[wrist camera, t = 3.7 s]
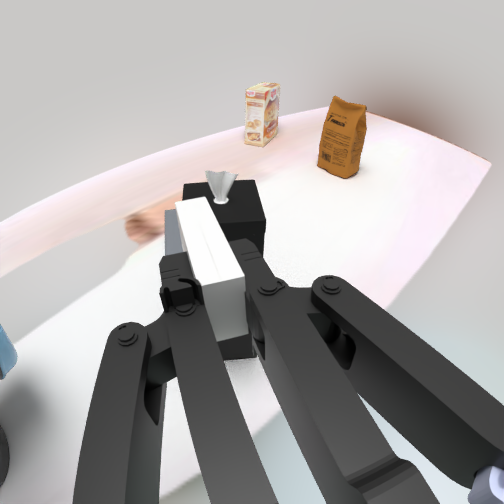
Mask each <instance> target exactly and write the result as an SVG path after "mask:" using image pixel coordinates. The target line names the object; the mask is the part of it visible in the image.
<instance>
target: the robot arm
mask: <svg viewBox="0 0 504 504" xmlns="http://www.w3.org/2000/svg"><path fill="white" fill-rule="evenodd" d="M175 206H176V213H177V219H178V225H179V231H180V236H181V242H182V248H183V252H181V253H176V254H171V255H166V256H163V257H162V259H161V261H160V263H159V268H160V275H161V282H162V286H161V288H160V293H159V294H160V297H161V301H162V305H163V308H164V312H163V314H162V315H161V317H159V318H158V319H157V320H156V321H154V322H153V323H151V324H149V325H147V326H145V327H144V326H143V325H141V324H139V323H135V322H128V323H123V324H121V325H119V326H117V327H116V328H115V329H113V330H112V331H111V333H110V335H109V337H108V339H107V343H106V346H105V350H104V353H103V357H102V360H101V364H100V368H99V372H98V375H97V379H96V383H95V387H94V391H93V395H92V399H91V404H90V408H89V412H88V417H87V421H86V426H85V431H84V436H83V441H82V446H81V451H80V457H79V463H78V468H77V475H76V481H75V488H74V495H73V503H72V504H159V485H160V465H161V448H162V434H163V421H164V409H165V398H166V388H167V382H168V381H170V380H171V379H173V378H175V377H177V378H178V383H179V388H180V392H181V396H182V401H183V405H184V409H185V413H186V417H187V422H188V425H189V429H190V433H191V437H192V441H193V445H194V448H195V452H196V456H197V459H198V463H199V466H200V470H201V473H202V476H203V480H204V483H205V486H206V489H207V493H208V496H209V499H210V502H211V504H279V503H278V501H277V499H276V496H275V494H274V492H273V489H272V487H271V484H270V482H269V480H268V477H267V475H266V472H265V470H264V468H263V466H262V463H261V460H260V458H259V455H258V453H257V450H256V448H255V445H254V443H253V440H252V437H251V435H250V432H249V430H248V427H247V424H246V422H245V419H244V417H243V414H242V411H241V409H240V406H239V403H238V400H237V398H236V395H235V392H234V389H233V387H232V384H231V381H230V378H229V375H228V373H227V370H226V367H225V364H224V361H223V358H222V355H221V352H220V349H219V346H218V343H217V342H218V341H222V340H226V339H230V338H234V337H238V336H242V335H245V334H248V326H249V328H250V330H251V333H252V345H253V356H254V357H256V353H257V355H258V357H259V359H260V362H261V364H262V366H263V368H264V371H265V373H266V375H267V377H268V380H269V382H270V384H271V386H272V389H273V391H274V393H275V395H276V398H277V400H278V402H279V404H280V406H281V409H282V411H283V413H284V415H285V417H286V419H287V422H288V424H289V426H290V428H291V430H292V432H293V435H294V436H295V439H296V441H297V443H298V445H299V447H300V449H301V452H302V454H303V456H304V458H305V460H306V462H307V464H308V466H309V468H310V470H311V472H312V474H313V476H314V479H315V481H316V483H317V485H318V486H319V489H320V491H321V493H322V495H323V497H324V499H325V501H326V504H440V503H439V502H438V500H437V498H436V497H435V495H434V493H433V492H432V491H431V489H430V487H429V485H428V484H427V482H426V481H425V479H424V478H423V476H422V474H421V473H420V471H419V470H418V469H417V467H416V466H415V465H414V464H413V463H411V462H410V461H408V460H404V459H400V458H399V457H398V456H396V454H395V453H394V451H393V450H392V448H391V447H390V445H389V443H388V442H387V440H386V439H385V437H384V435H383V434H382V432H381V431H380V429H379V428H378V426H377V424H376V423H375V421H374V419H373V418H372V416H371V415H370V413H369V411H368V410H367V408H366V407H365V405H364V404H363V402H362V400H361V399H360V397H359V395H360V396H361V397H362V398H364V400H365V401H367V403H368V404H369V405H371V406H372V407H373V408H374V409H375V410H376V411H377V412H378V413H379V414H380V415H381V416H382V417H384V419H385V420H386V421H387V422H388V423H390V424H391V425H392V426H393V427H394V428H395V429H396V430H397V431H398V432H399V433H400V434H401V435H402V436H403V437H404V438H405V439H407V440H408V441H409V442H410V443H411V444H412V445H413V446H414V447H415V448H416V449H417V450H418V451H419V452H420V453H421V454H423V455H424V456H425V457H426V458H427V459H428V460H429V461H430V462H431V463H432V464H433V465H435V466H436V467H437V468H438V469H439V470H440V471H441V472H442V473H444V474H445V475H446V476H447V477H449V478H450V479H451V480H453V481H455V482H456V483H458V484H460V485H461V486H464V487H466V488H469V489H471V491H470V493H469V494H468V502H469V503H470V504H504V406H503V405H502V404H501V403H500V402H499V401H498V400H496V399H495V398H494V397H493V396H491V395H490V394H489V393H488V392H487V391H486V390H484V389H483V388H482V387H481V386H480V385H478V384H477V383H476V382H475V381H473V380H472V379H471V378H470V377H469V376H467V375H466V374H465V373H464V372H462V371H461V370H460V369H459V368H457V367H456V366H455V365H454V364H453V363H451V362H450V361H449V360H448V359H446V358H445V357H444V356H443V355H441V354H440V353H439V352H438V351H436V350H435V349H434V348H432V347H431V346H430V345H429V344H427V343H426V342H425V341H424V340H422V339H421V338H420V337H419V336H417V335H416V334H415V333H413V332H412V331H411V330H410V329H408V328H407V327H406V326H404V325H403V324H402V323H401V322H399V321H398V320H397V319H395V318H394V317H393V316H391V315H390V314H389V313H388V312H386V311H385V310H384V309H382V308H381V307H380V306H378V305H377V304H376V303H374V302H373V301H372V300H371V299H369V298H368V297H367V296H365V295H364V294H363V293H361V292H360V291H359V290H357V289H356V288H355V287H353V286H352V285H351V284H349V283H348V282H347V281H345V280H344V279H342V278H340V277H337V276H332V275H325V276H321V277H318V278H317V279H316V280H314V282H313V284H312V287H310V288H296V287H289V286H288V284H287V283H286V282H285V281H284V280H282V279H279V278H277V277H275V276H274V274H273V273H272V271H271V270H270V268H269V266H268V265H267V263H266V262H265V260H264V258H262V255H261V254H260V252H259V250H258V249H257V247H256V246H255V244H254V243H252V242H251V241H249V240H248V239H246V238H245V239H240V240H235V241H230V242H227V240H226V238H225V236H224V234H223V232H222V230H221V228H220V226H219V224H218V221H217V219H216V217H215V215H214V213H213V211H212V209H211V207H210V205H209V203H208V201H207V199H206V197H200V198H195V199H189V200H184V201H179V202H175ZM16 362H17V352H16V350H15V348H14V346H13V344H12V343H11V341H10V340H9V338H8V336H7V335H6V333H5V331H4V330H3V328H2V326H1V324H0V380H2V379H4V378H5V376H6V374H7V373H8V372H9V371H10V370H11V369H12V368H13V367H14V365H15V364H16ZM357 393H358V394H359V395H358V394H357ZM8 466H9V449H8V444H7V440H6V437H5V434H4V432H3V430H2V428H1V426H0V486H1V485H2V483H3V482H4V480H5V477H6V474H7V471H8Z"/></svg>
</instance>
